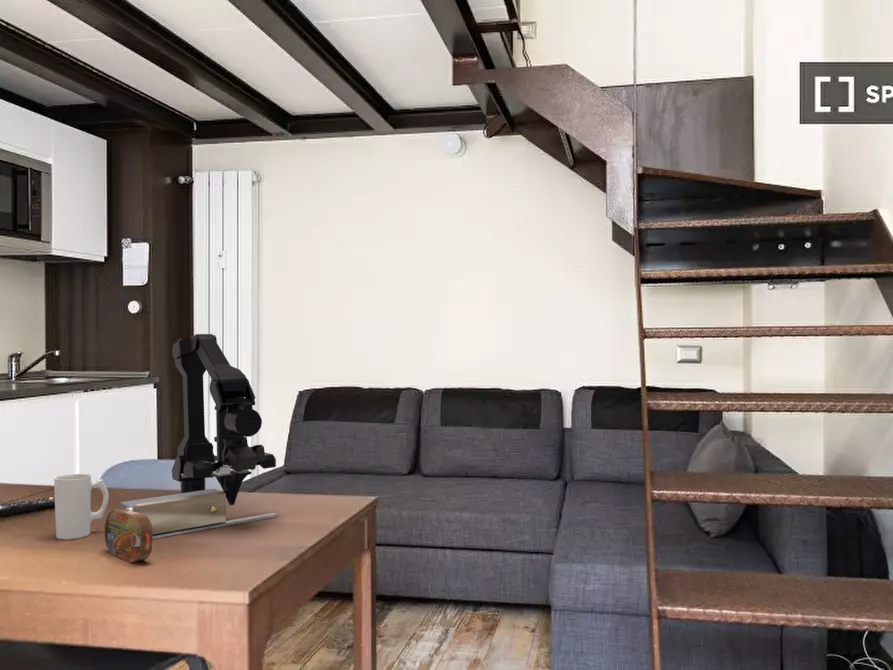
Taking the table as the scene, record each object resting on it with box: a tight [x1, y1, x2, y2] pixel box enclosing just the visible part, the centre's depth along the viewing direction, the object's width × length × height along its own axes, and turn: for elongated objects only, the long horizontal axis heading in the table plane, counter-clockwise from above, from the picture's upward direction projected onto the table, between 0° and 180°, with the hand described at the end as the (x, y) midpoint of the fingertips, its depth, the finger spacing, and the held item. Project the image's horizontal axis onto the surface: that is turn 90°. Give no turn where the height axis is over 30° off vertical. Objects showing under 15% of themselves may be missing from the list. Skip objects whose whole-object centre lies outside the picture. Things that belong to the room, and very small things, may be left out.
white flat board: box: [126, 507, 278, 540], centre depth 159 cm, size 2×32×7 cm, turn 130°
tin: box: [104, 509, 153, 564], centre depth 138 cm, size 15×3×8 cm, turn 47°
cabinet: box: [119, 488, 223, 510], centre depth 159 cm, size 6×20×6 cm, turn 130°
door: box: [135, 491, 227, 534], centre depth 155 cm, size 3×18×6 cm, turn 130°
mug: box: [53, 473, 110, 541], centre depth 155 cm, size 10×7×12 cm, turn 119°
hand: (231, 504), depth 163 cm, fingers closed
